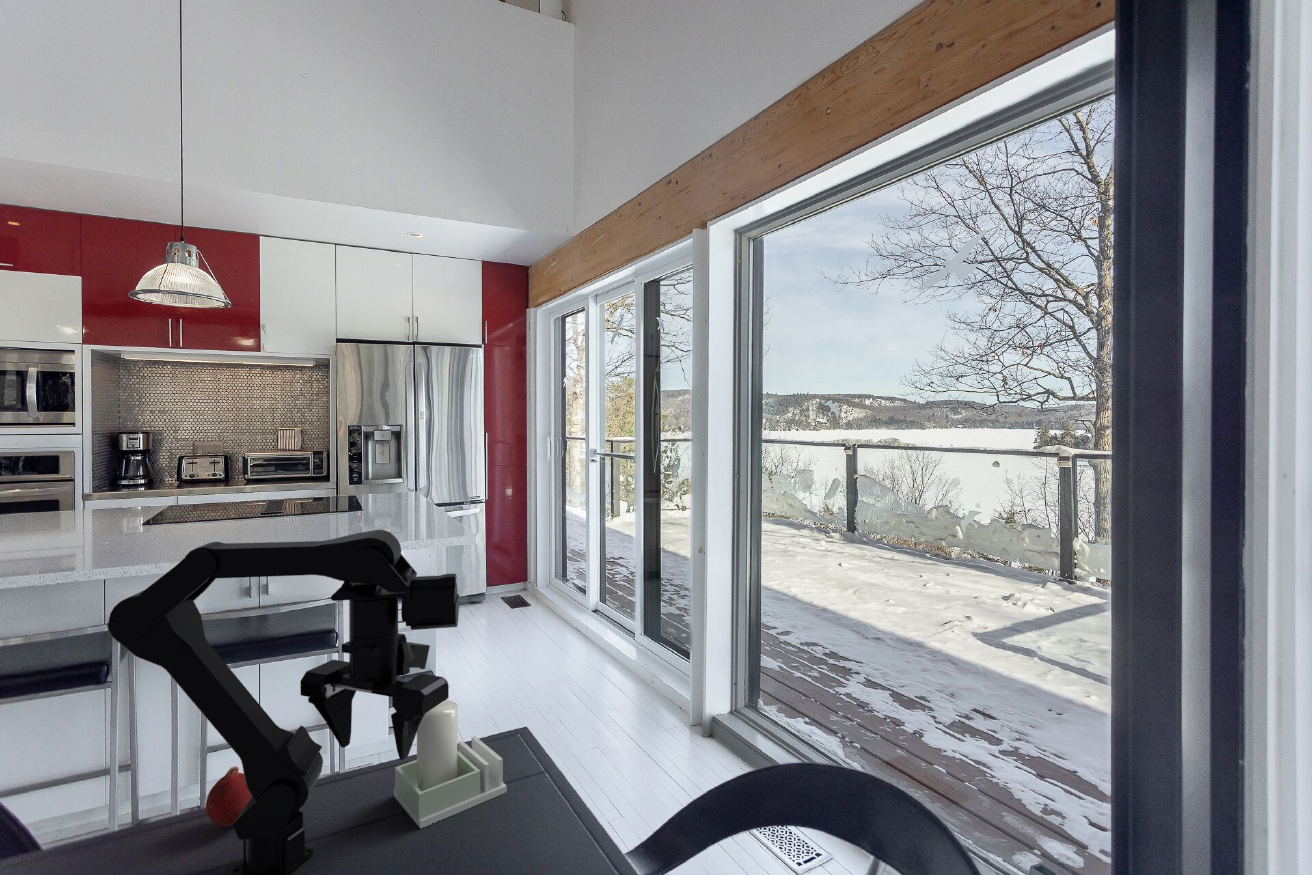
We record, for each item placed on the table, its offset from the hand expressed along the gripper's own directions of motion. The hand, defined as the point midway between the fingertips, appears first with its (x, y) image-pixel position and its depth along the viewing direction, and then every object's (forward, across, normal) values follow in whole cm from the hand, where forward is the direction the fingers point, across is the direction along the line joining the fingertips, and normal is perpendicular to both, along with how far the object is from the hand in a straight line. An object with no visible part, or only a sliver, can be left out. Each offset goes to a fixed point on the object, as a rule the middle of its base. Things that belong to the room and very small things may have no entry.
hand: (374, 751), depth 81 cm
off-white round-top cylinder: (+12, 0, -12) cm, 17 cm away
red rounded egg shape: (+13, +22, +2) cm, 26 cm away
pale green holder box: (+13, -2, -14) cm, 19 cm away
